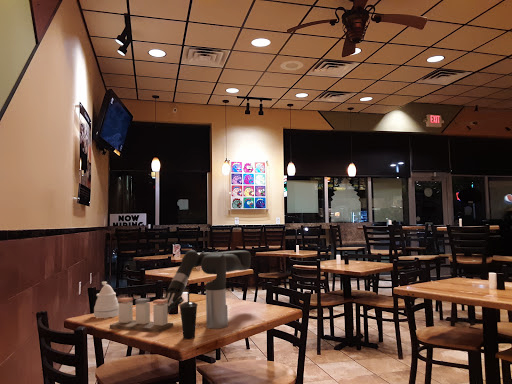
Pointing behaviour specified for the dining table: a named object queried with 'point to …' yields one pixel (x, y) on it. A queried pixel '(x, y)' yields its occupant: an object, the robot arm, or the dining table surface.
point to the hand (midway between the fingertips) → (164, 314)
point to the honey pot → (106, 303)
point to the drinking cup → (188, 318)
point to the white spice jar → (125, 310)
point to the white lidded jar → (142, 311)
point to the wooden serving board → (141, 326)
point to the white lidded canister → (160, 312)
